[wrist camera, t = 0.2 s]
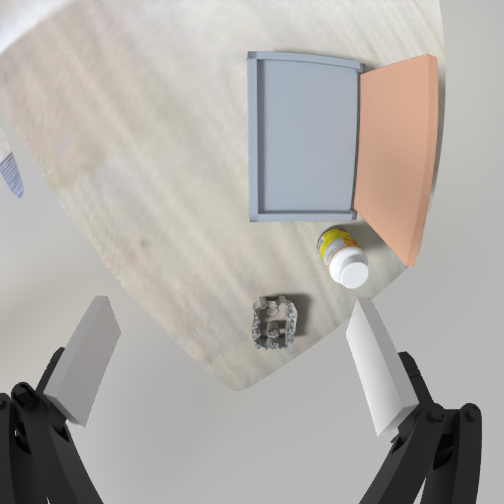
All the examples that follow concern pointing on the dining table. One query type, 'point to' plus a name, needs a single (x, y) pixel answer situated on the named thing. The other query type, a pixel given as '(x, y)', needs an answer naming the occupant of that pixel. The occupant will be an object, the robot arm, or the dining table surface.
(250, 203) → the blue-grey tray
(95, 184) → the dining table surface
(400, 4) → the dining table surface
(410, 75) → the panel
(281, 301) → the egg carton
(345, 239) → the supplement bottle
